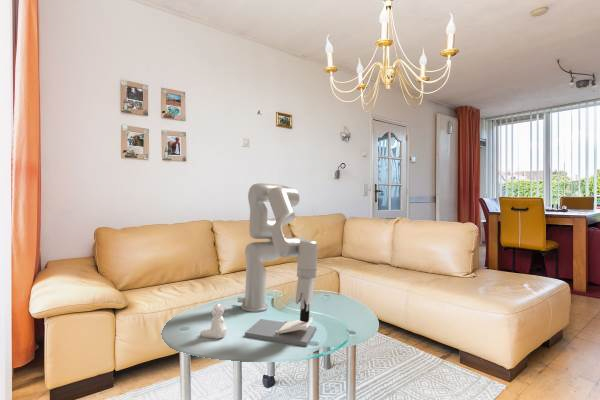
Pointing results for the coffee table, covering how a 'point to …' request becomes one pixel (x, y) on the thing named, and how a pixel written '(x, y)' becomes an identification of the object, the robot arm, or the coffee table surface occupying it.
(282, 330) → the tile
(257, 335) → the board
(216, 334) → the sitting furry creature
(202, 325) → the coffee table surface
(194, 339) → the coffee table surface
